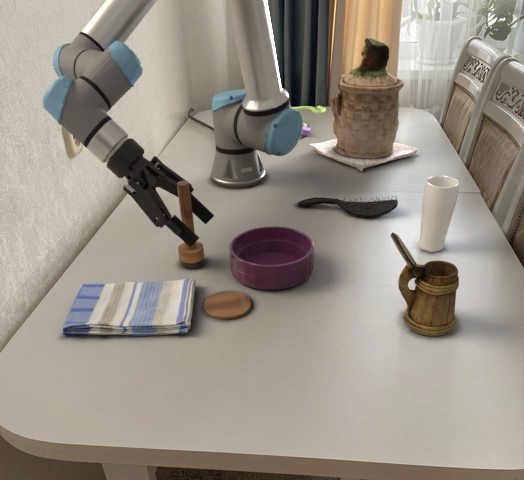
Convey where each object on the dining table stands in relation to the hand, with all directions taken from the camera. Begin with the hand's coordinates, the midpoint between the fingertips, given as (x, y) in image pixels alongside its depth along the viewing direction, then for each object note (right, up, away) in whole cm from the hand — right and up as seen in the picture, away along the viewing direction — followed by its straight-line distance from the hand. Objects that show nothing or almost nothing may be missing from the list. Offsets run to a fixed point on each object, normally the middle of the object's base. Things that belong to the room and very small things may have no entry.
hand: (202, 230), depth 114 cm
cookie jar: (+44, +36, +57) cm, 80 cm away
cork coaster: (+6, -16, -8) cm, 19 cm away
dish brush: (-3, -6, +5) cm, 9 cm away
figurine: (+23, +54, +79) cm, 99 cm away
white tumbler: (+50, -2, +8) cm, 50 cm away
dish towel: (-12, -17, -8) cm, 23 cm away
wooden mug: (+41, -20, -14) cm, 47 cm away
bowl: (+14, -8, +2) cm, 17 cm away
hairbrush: (+34, +10, +25) cm, 43 cm away
